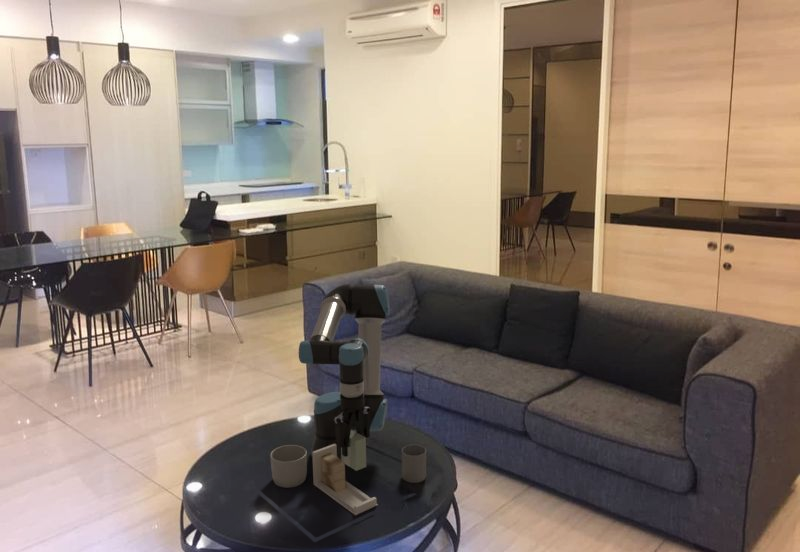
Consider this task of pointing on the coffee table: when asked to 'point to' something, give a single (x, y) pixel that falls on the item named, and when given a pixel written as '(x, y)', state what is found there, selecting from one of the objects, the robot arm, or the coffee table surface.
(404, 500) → the coffee table surface
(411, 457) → the cup
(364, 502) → the track
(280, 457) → the planter
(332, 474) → the oak panel
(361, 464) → the green panel
